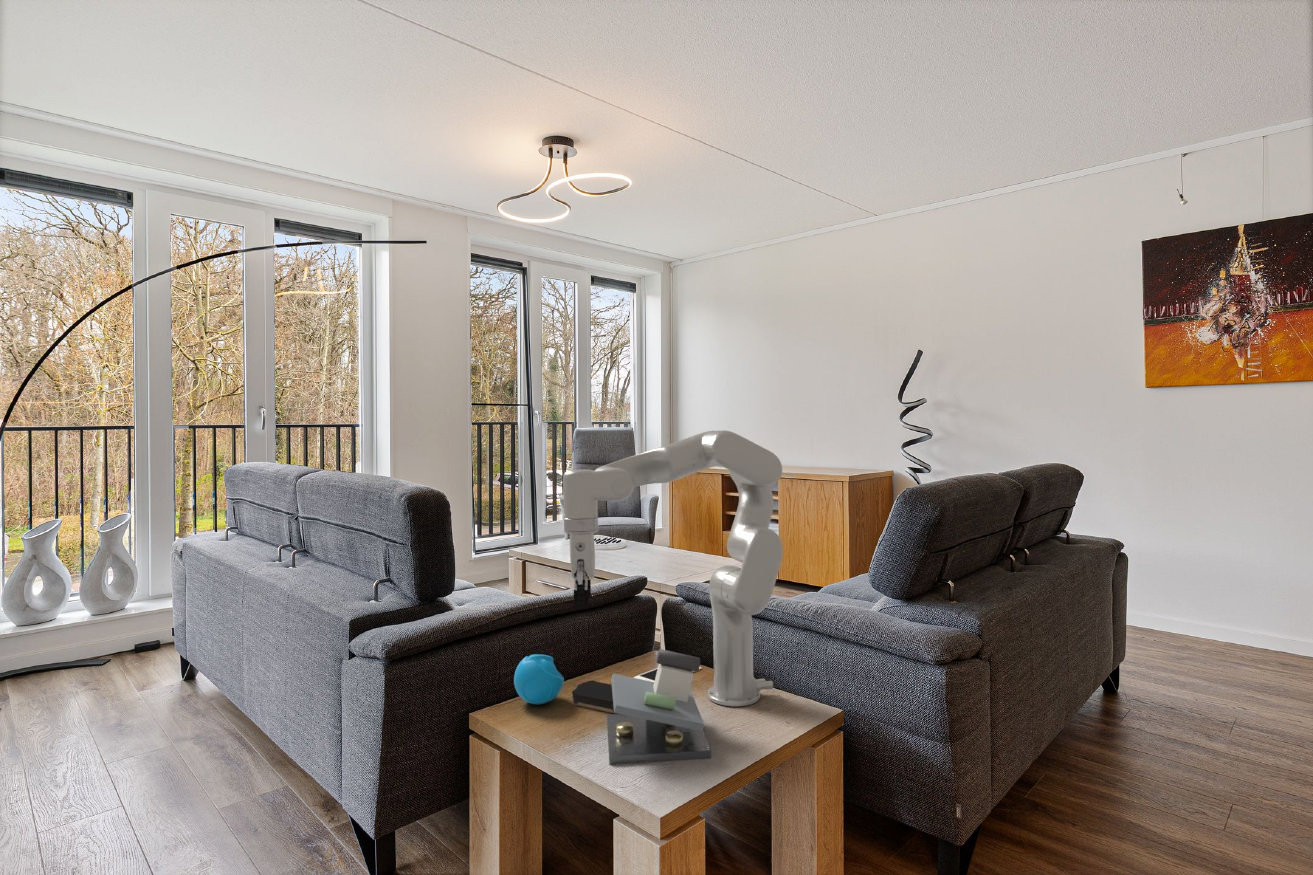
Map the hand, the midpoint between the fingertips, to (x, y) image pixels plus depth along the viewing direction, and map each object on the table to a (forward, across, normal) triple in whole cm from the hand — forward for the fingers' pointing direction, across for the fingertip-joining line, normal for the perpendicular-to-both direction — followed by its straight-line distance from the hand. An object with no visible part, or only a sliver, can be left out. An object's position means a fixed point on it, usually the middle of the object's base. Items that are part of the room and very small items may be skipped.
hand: (582, 602), depth 151 cm
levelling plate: (+21, -9, -15) cm, 27 cm away
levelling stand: (+27, -9, -15) cm, 32 cm away
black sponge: (+28, +11, -4) cm, 30 cm away
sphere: (+27, +13, +12) cm, 32 cm away
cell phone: (+28, +30, -21) cm, 46 cm away
